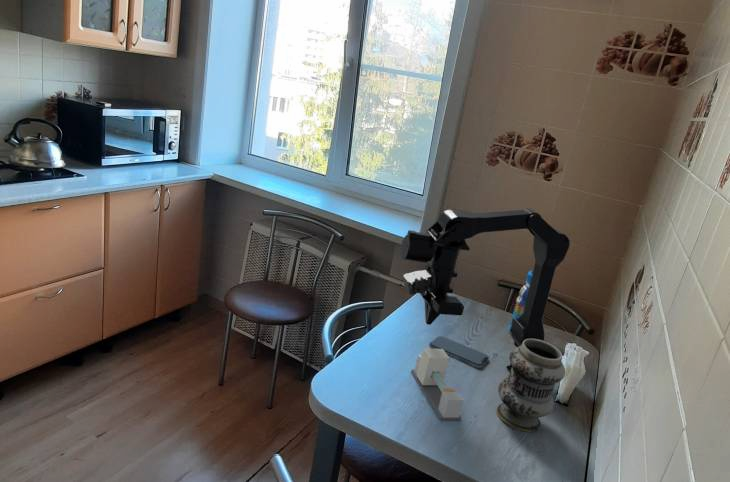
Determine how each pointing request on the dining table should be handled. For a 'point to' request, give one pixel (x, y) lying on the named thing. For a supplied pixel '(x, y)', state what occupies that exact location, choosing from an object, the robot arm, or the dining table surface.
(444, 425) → the dining table surface
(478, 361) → the smartphone
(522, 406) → the apothecary jar
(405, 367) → the dining table surface
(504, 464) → the dining table surface
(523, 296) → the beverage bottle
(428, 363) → the white block
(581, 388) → the dining table surface
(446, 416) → the grey piece
